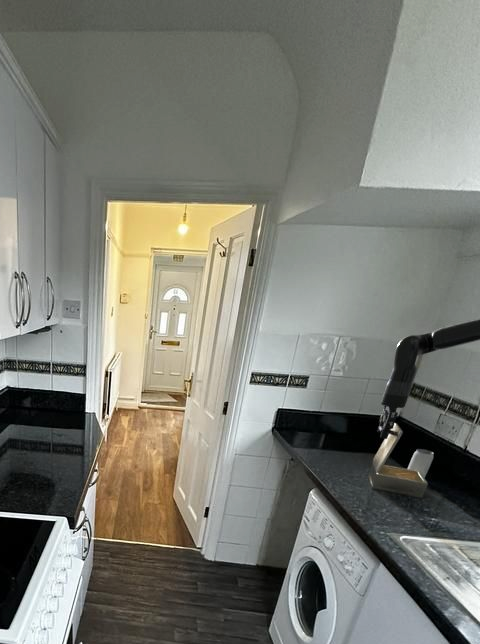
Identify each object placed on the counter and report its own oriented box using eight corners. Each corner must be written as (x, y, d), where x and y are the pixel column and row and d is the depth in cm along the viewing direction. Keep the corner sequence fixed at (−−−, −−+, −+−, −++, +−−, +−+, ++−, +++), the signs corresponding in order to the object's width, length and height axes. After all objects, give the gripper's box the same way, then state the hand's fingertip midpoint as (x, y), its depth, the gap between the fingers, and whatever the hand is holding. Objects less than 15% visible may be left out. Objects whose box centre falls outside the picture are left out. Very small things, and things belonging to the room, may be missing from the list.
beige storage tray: (414, 485, 163) (420, 471, 161) (422, 498, 152) (428, 483, 149) (368, 476, 170) (372, 462, 167) (371, 488, 158) (376, 474, 156)
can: (407, 474, 174) (418, 447, 169) (425, 479, 169) (437, 452, 164) (402, 477, 170) (413, 450, 165) (420, 483, 166) (432, 455, 160)
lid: (396, 423, 159) (380, 418, 161) (403, 432, 147) (385, 426, 149) (374, 462, 167) (359, 457, 169) (378, 473, 155) (362, 467, 157)
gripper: (412, 397, 143) (396, 442, 149) (405, 391, 155) (390, 432, 161) (387, 394, 146) (372, 438, 152) (382, 388, 158) (368, 429, 164)
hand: (381, 435), depth 157 cm, fingers open, 8 cm apart
